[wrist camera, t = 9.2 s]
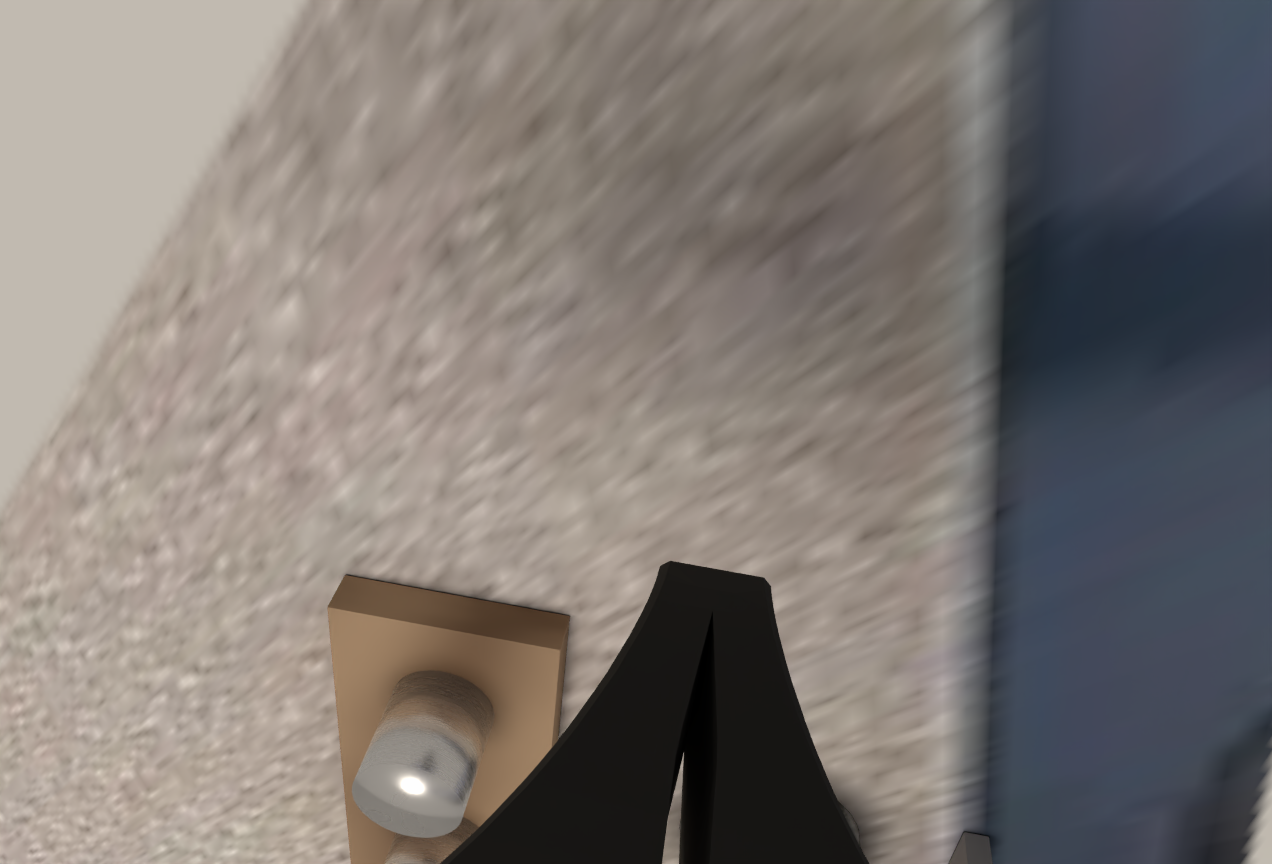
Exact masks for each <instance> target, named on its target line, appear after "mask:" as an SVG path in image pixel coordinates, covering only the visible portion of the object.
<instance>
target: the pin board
mask: <svg viewBox="0 0 1272 864" xmlns="http://www.w3.org/2000/svg"><path fill="white" fill-rule="evenodd" d="M328 618H329V629H330V640H331V651H332V662H333V673H334V684H335V695H336V706H337V717H338V728H339V738H340V749H341V760H342V771H343V782H344V793H345V804H346V815H347V826H348V837H349V848H350V858H351V864H440V863H441V862H442V861H443V860H444V859H445V858H447V857H448V856H449V855H450V854H451V853H452V852H453V851H454V850H455V849H456V848H458V847H459V846H460V845H461V844H462V843H463V842H464V841H465V840H466V839H467V838H469V837H470V836H471V835H472V834H473V833H474V832H475V831H476V830H477V829H478V828H479V827H480V826H481V825H482V824H483V823H484V822H485V821H486V820H487V819H488V818H489V817H490V816H491V815H492V814H493V813H494V812H495V811H496V810H497V809H498V808H499V807H500V805H501V804H502V803H503V802H504V801H505V800H506V799H507V798H508V797H509V796H510V795H511V794H512V793H513V792H514V791H515V789H516V788H517V787H518V786H519V785H520V784H521V783H522V782H523V781H524V780H525V779H526V778H527V776H528V775H529V774H530V773H531V772H532V771H533V769H534V768H535V767H536V766H537V765H538V764H539V762H540V761H541V760H542V759H543V758H544V757H545V755H546V754H547V753H548V752H549V751H550V749H551V748H552V747H553V746H554V745H555V743H556V742H557V741H558V735H559V724H560V714H561V703H562V693H563V682H564V672H565V661H566V651H567V640H568V630H569V619H570V616H566V615H561V614H555V613H550V612H544V611H539V610H533V609H528V608H522V607H517V606H511V605H506V604H500V603H495V602H489V601H484V600H478V599H473V598H468V597H462V596H457V595H451V594H446V593H440V592H435V591H429V590H424V589H418V588H413V587H407V586H402V585H396V584H391V583H385V582H380V581H375V580H369V579H364V578H358V577H353V576H347V575H345V576H344V578H343V580H342V581H341V583H340V585H339V587H338V589H337V591H336V592H335V594H334V596H333V598H332V600H331V602H330V603H329V605H328Z"/></svg>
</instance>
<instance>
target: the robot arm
mask: <svg viewBox="0 0 1272 864" xmlns="http://www.w3.org/2000/svg"><path fill="white" fill-rule="evenodd" d="M683 753H684V765H683V786H682V808H681V831H680V854H679V864H869V862H868V861H867V859H866V857H865V855H864V853H863V851H862V850H861V848H860V846H859V844H858V842H857V840H856V838H855V836H854V834H853V832H852V830H851V828H850V826H849V824H848V822H847V820H846V818H845V816H844V814H843V811H842V809H841V807H840V805H839V803H838V801H837V798H836V796H835V794H834V792H833V789H832V787H831V785H830V783H829V780H828V778H827V776H826V773H825V771H824V768H823V766H822V763H821V761H820V759H819V756H818V754H817V751H816V749H815V746H814V744H813V741H812V738H811V736H810V733H809V730H808V728H807V725H806V722H805V719H804V717H803V714H802V711H801V708H800V705H799V702H798V699H797V696H796V693H795V690H794V687H793V684H792V681H791V677H790V674H789V671H788V667H787V664H786V660H785V656H784V652H783V649H782V645H781V641H780V637H779V633H778V628H777V624H776V619H775V614H774V608H773V602H772V594H771V586H770V585H769V583H768V582H767V581H766V580H765V578H763V577H757V576H752V575H746V574H740V573H735V572H729V571H724V570H718V569H712V568H707V567H701V566H696V565H690V564H684V563H679V562H673V561H669V562H667V563H665V564H663V565H661V566H660V569H659V572H658V576H657V579H656V582H655V584H654V587H653V589H652V592H651V594H650V597H649V599H648V601H647V603H646V605H645V607H644V610H643V612H642V614H641V615H640V617H639V619H638V621H637V623H636V625H635V627H634V629H633V630H632V632H631V634H630V636H629V638H628V639H627V641H626V642H625V644H624V646H623V647H622V649H621V651H620V652H619V654H618V656H617V657H616V659H615V660H614V662H613V664H612V665H611V667H610V669H609V670H608V672H607V673H606V675H605V676H604V678H603V679H602V681H601V682H600V684H599V685H598V687H597V688H596V689H595V691H594V692H593V694H592V695H591V696H590V698H589V699H588V701H587V702H586V703H585V705H584V706H583V708H582V709H581V710H580V712H579V713H578V715H577V716H576V717H575V719H574V720H573V722H572V723H571V724H570V726H569V727H568V728H567V729H566V731H565V732H564V733H563V734H562V736H561V737H560V738H559V740H558V741H557V742H556V743H555V745H554V746H553V747H552V748H551V749H550V751H549V752H548V753H547V754H546V755H545V757H544V758H543V759H542V760H541V761H540V762H539V764H538V765H537V766H536V767H535V768H534V769H533V771H532V772H531V773H530V774H529V775H528V776H527V778H526V779H525V780H524V781H523V782H522V783H521V784H520V785H519V786H518V787H517V788H516V789H515V791H514V792H513V793H512V794H511V795H510V796H509V797H508V798H507V799H506V800H505V801H504V802H503V803H502V804H501V805H500V807H499V808H498V809H497V810H496V811H495V812H494V813H493V814H492V815H491V816H490V817H489V818H488V819H487V820H486V821H485V822H484V823H483V824H482V825H481V826H480V827H479V828H478V829H477V830H476V831H475V832H474V833H473V834H472V835H471V836H470V837H469V838H467V839H466V840H465V841H464V842H463V843H462V844H461V845H460V846H459V847H458V848H456V849H455V850H454V851H453V852H452V853H451V854H450V855H449V856H448V857H447V858H445V859H444V860H443V861H442V862H441V863H440V864H662V857H663V849H664V842H665V834H666V826H667V819H668V815H669V810H670V806H671V802H672V798H673V794H674V790H675V786H676V782H677V778H678V774H679V769H680V765H681V761H682V757H683Z"/></svg>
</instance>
